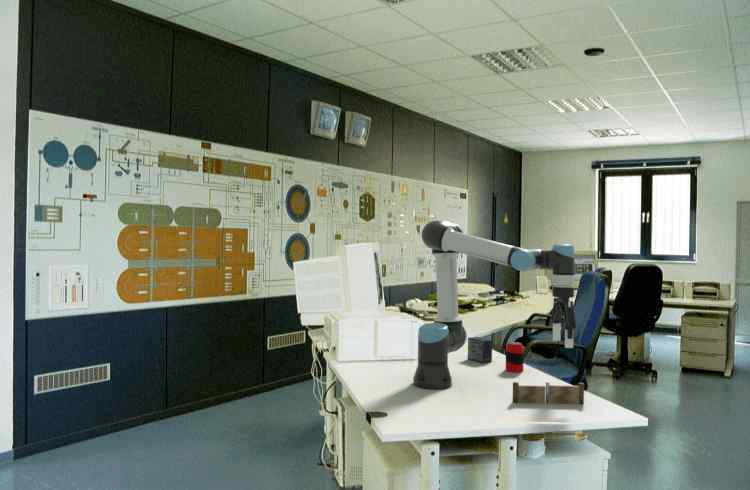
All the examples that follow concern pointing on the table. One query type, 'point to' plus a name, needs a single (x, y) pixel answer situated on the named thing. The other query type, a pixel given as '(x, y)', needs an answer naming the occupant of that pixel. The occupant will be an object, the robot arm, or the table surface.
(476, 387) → the table surface
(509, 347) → the soda can
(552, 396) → the fence gate
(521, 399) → the fence fixed
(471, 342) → the small box
